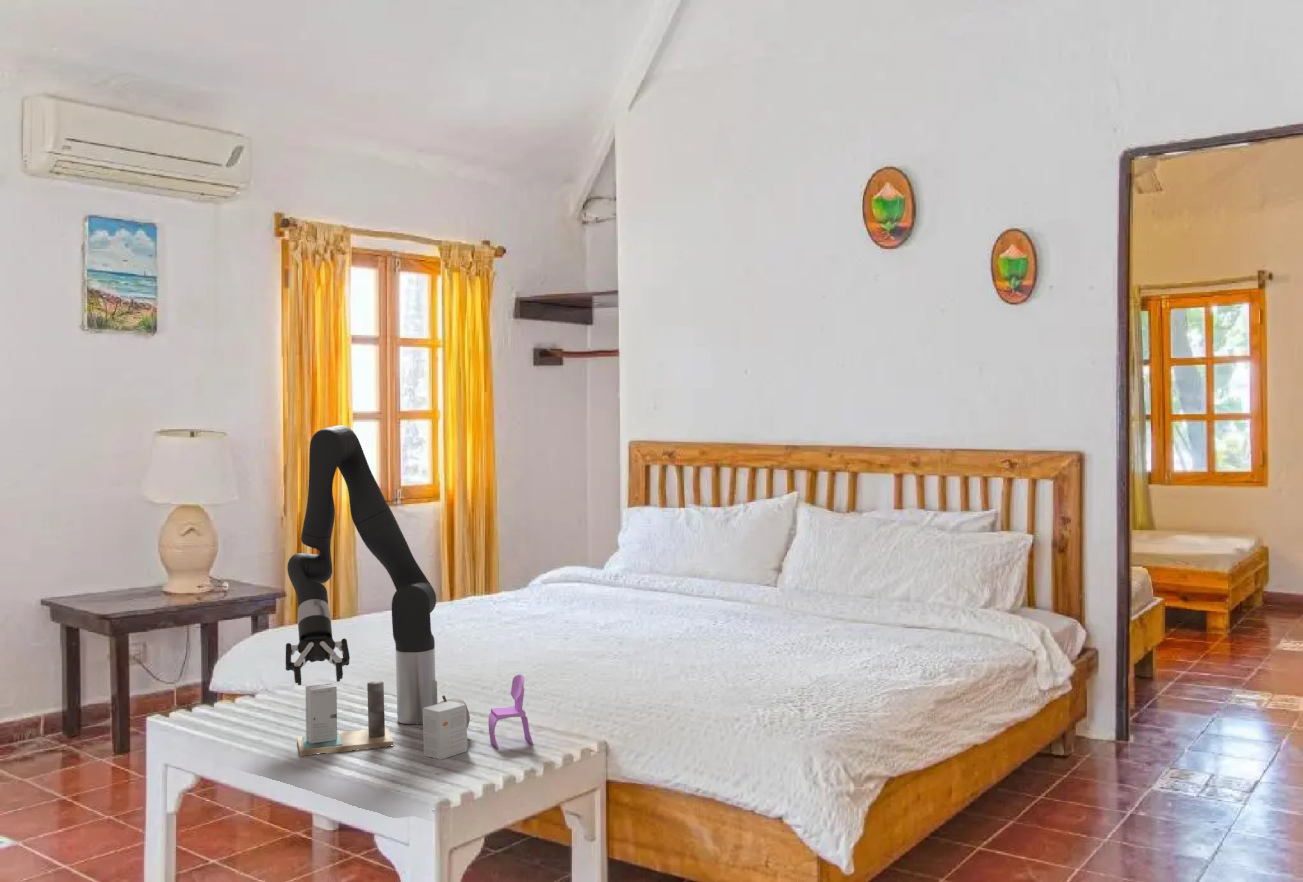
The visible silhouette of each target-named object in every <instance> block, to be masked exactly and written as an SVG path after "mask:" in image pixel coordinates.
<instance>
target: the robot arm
mask: <svg viewBox="0 0 1303 882" xmlns="http://www.w3.org/2000/svg"><path fill="white" fill-rule="evenodd" d="M308 454H309V456H308V458H309V459H308V486H307V487H308V489H307V501H306V509H305V513H304V514H305V515H304V519H303V523H302V531H301V537H300V541H301V543H302V544H303V545H304V546H306V547H308V548H312V549H315V550H318V551H319V552H318V554H317V553H316V554H314V553H302V552H300V553H299V552H298V553H295V554H293V555H292V556H290V558H289V560H288V562H287V567H286V568H287V574H288V577H289V580H290V583H291V585H292V586H293V590H294V592H295V594H296V597H297V599H296V601H297V626H298V627H297V628H298V629H297V630H298V644H291V643H290V642H288V643H287V642H286V644H285V670H286V671H293V673H294V674H293V676H294V677H293V678H294V679H293V680H294V682H295V684H297V686H302V670H301V669H302V668H303V667H305V665H306V664H307V663H308V662H310V663H314V662H324V661H325V660H326V661H327V662H328V663H329V664H332V665H333V666H334V667H335V678H336V682H337V683H338V682H339V683H340V682H341V680H342V679H343V676H344V671H343V667H344V666H349V665H350V658H351V657H350V651H349V645H348V641H347V640H348V639H347V638H345V637H344V638H342V639H341V640H339V641H335V640H334V639H333V631H332V629H333V628H332V619H331V610H330V608H329V607H330V606H329V599H328V597H329V596H328V590H327V587H326V586H325V585H324V583H325V584H326V583H327V582H328V581H329V580H330V579H331V577H332V574H333V562H332V555H331V554H332V553H331V543H332V542H331V540H332V535H333V528H334V523H335V516H336V508H335V500H334V495H333V494H334V493H333V483H334V478H335V474H336V471H337V469H338V471H340V474H341V476H342V478H343V479H344V482H345V484H346V487H347V493H348V499H349V500H348V501H349V502H348V503H349V510H350V515H351V519H352V521H353V522H352V523H353V524H354V526H355V529H356V530H357V532H358V534H359V537H360V538H361V540H362V541H363V543H364V545H365V546H366V548H367V549H368V550H369V551H370V553H371V554H372V555H373V556H374V557H375V558H376V559H377V560H378V562H380V564H381V565H382V566H383V567H384V569H385V570H386V571H387V573H388V575H389V578H391V582H392V583H393V586H394V587H395V590H396V591H395V592H394V594H393V596H392V599H391V622H392V623H391V626H392V637H393V641H394V643H395V676H396V677H395V678H396V680H395V681H396V708H397V709H396V712H397V713H396V716H397V722H398V723H400V724H404V725H405V724H406V725H420V724H422V725H423V708H425V707H429V706H433V705H436V704H438V703H439V702H438V681H437V679H436V649H435V645H436V644H435V643H436V641H435V636H434V635H433V633H432V626H431V613H433V611H434V609H435V607H436V604H437V593H436V592H435V588H433V586H432V584H431V582H430V581H429V579H428V578H427V577H426V574H425V573H424V572H423V571H422V569H421V567H420V566H419V564H418V563H417V561H416V559H415V557H414V555H413V554H412V551H411V549H410V546H409V544H408V542H407V540H406V538H405V535H404V533H403V532H402V530H401V528H400V526H399V524H398V521H397V519H396V517H395V515H394V513H393V511H392V509H391V507H390V505H389V504H388V502H387V500H386V498H385V497H384V495H383V492H382V491H381V489H380V487H379V484H378V483H377V480H376V478H375V476H374V474H373V473H372V470H371V468H370V466H369V463H368V461H367V457H366V455H365V453H364V449H363V448H362V445H361V443H360V440H359V438H358V436H357V435H356V433H355V431H354V430H352V429H351V428H350V427H348V426H346V425H343V424H342V425H341V424H340V425H332V426H329V427H325V428H321V429H319V430H317V431H316V432H314V434H313V436H311V439H310V442H309V453H308ZM336 648H337V649H338V651H340V652H341V654H342V657H340V656H339V655H338V654H337V652H336V651H335V649H336ZM296 652H298V653H299V654H300V655H299V656H298V658H297V659H296V661H295V662H293V661H292V656H293V655H295V654H296Z"/></svg>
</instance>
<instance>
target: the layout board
mask: <svg viewBox="0 0 1303 882" xmlns="http://www.w3.org/2000/svg"><path fill="white" fill-rule="evenodd" d="M384 686H385V684H384V681H382V680H381V681H380V680H374V681H369V682H367V683H366V689H367V723H368V724H367V725H368V727H367V729H360V730H350V731H341V732H340V731H339V732H337V740H334V741H327V742H320V743H313V744H311V743H309V742H308V741H307V740H306V735H303V736H302V735H300V736H297V746H298V753H299V757H306V755H307V756H313V755H312V754H317V753H326V754H333V753H343V752H351V751H352V750H355V751H358V750H357V749H364V750H367V749H366V748H374V749H381V748H380V747H383V748H387V747H386V746H391V745H393V746H394V740H393V737H392V735H391V732H390V730H389V728H388V727H385V726H386V725H385V724H386V723H385V720H386V719H385V690H384V689H385V687H384ZM352 752H353V751H352ZM317 755H318V754H317Z"/></svg>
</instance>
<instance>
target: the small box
mask: <svg viewBox="0 0 1303 882" xmlns="http://www.w3.org/2000/svg"><path fill="white" fill-rule="evenodd" d="M439 703H440V702H439ZM466 705H467V704H462V703H457V702H453V701H447V702H444V703H440V704H436V705H433V706H429V707H425V708H423V723H422V730H423V731H422V734H423V735H422V737H423V739H422V740H423V756H424V755H425V757H427V756H428V758H431V757H434V758H433V759H435V758H437V759H436V760H440V761H441V760H444V759H446V758H451V757H453V756H457V755H460V754H462V753H465V752H468V728H467V716H466Z"/></svg>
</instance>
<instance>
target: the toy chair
mask: <svg viewBox="0 0 1303 882" xmlns="http://www.w3.org/2000/svg"><path fill="white" fill-rule="evenodd" d="M524 686H525V677H524V675H523V674H517V675H515V676H514V677H513V678H512V682H511V689H510V695H511V697H512V699H513V700H514V705H512V706H506V707H491V708H490V713H489V715H488V734H489V741H490V742H491V744H492V745H493V746H494V747H495V748H496V749H499V746H498V742H497V739H496V735H495V734H496V731H495V730H496V726H497V723H498V721H501V720H503V719H504V720H505V719H509V718H510V719H511V718H520V719H521V722H522V723H521V724H522V728H523V734H524V736H523V737H524V738H525V739H526V740H527V741H528V742H529V743H530V744H531V745H534V742H533V739H532V736H531V735H532V734H531V732H530V726H529V719H528V716H526V711H525V710H523V707H524V706H523V705H524V696H525V688H524Z"/></svg>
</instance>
